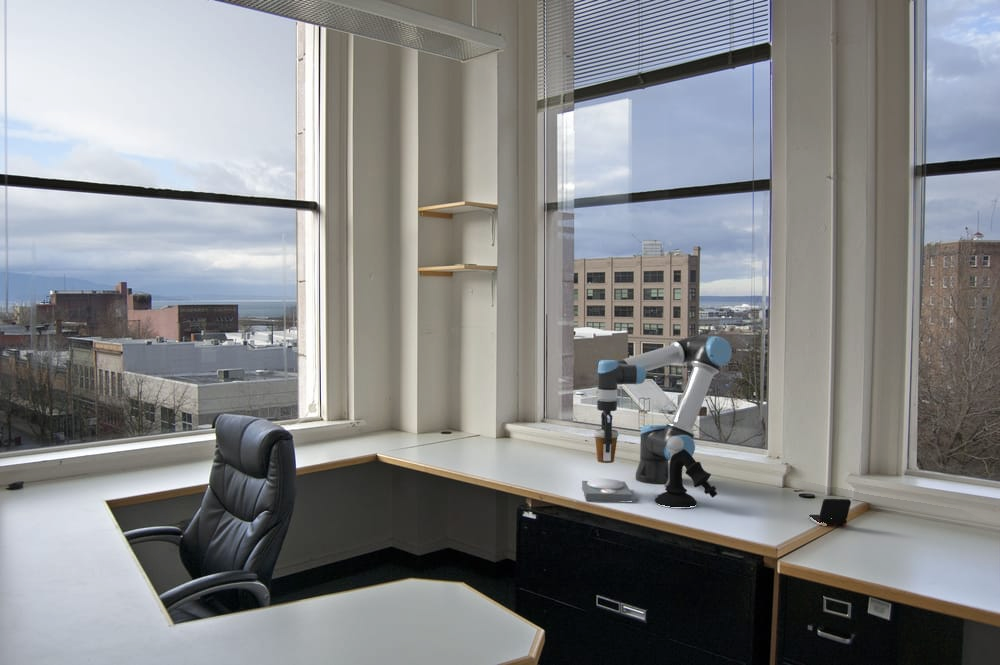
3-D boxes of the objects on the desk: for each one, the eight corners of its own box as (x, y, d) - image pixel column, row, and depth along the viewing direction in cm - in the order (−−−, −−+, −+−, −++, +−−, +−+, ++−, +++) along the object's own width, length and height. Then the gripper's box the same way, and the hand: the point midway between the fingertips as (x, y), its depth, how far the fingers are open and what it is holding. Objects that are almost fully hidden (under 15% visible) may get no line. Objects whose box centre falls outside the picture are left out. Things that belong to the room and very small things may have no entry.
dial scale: (624, 489, 299) (624, 479, 299) (632, 502, 279) (632, 491, 279) (581, 488, 299) (582, 478, 299) (586, 501, 279) (586, 490, 279)
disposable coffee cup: (599, 464, 286) (599, 433, 285) (589, 459, 295) (590, 429, 294) (622, 463, 288) (622, 432, 288) (611, 458, 297) (612, 428, 297)
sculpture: (667, 495, 289) (669, 431, 288) (725, 507, 273) (727, 439, 272) (647, 503, 278) (648, 436, 277) (706, 516, 262) (708, 445, 261)
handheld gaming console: (835, 519, 261) (836, 490, 261) (851, 529, 249) (852, 499, 249) (808, 518, 261) (808, 490, 261) (822, 529, 249) (823, 499, 249)
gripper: (594, 396, 301) (593, 452, 302) (600, 403, 280) (598, 463, 281) (613, 396, 301) (612, 453, 302) (620, 403, 280) (618, 464, 281)
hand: (605, 458), depth 291 cm, fingers closed on disposable coffee cup, 8 cm apart
